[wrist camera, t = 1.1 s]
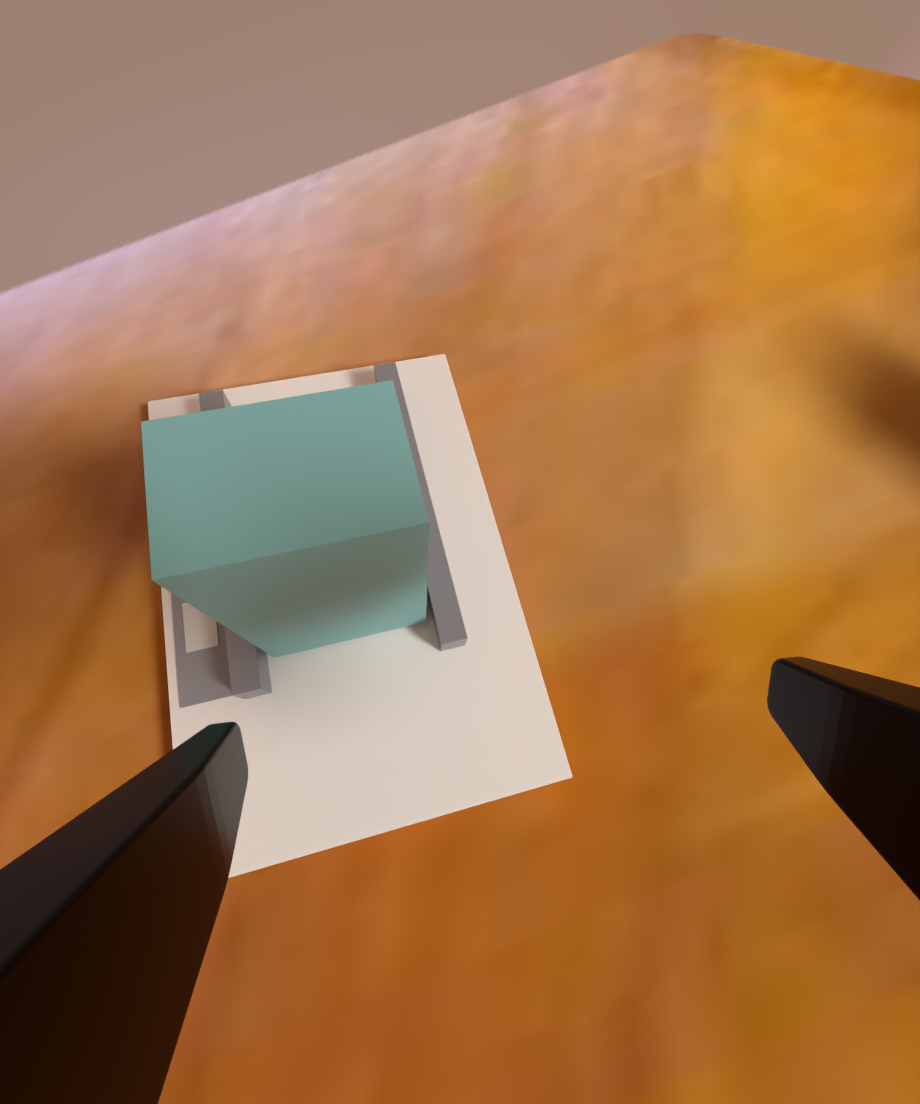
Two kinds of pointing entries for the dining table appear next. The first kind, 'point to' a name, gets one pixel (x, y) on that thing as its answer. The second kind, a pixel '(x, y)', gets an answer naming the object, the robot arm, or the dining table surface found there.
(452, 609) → the white rail base plate
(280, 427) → the switch tab
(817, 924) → the dining table surface
